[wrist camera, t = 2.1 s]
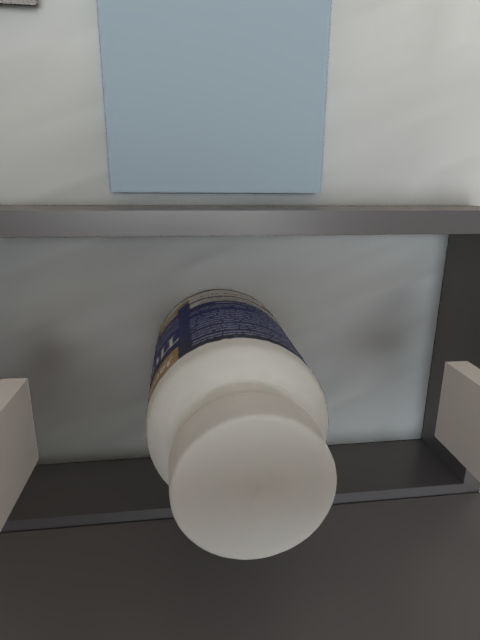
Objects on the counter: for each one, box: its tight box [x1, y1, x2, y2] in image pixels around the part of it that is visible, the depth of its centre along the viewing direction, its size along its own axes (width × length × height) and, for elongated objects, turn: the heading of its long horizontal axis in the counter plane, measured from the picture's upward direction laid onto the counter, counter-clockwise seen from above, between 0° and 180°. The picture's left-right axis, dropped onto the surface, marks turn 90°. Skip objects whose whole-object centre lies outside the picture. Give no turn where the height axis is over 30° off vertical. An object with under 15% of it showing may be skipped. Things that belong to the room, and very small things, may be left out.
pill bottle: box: [146, 290, 337, 560], centre depth 15 cm, size 5×5×10 cm
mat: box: [97, 0, 332, 193], centre depth 16 cm, size 8×8×1 cm
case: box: [0, 205, 480, 640], centre depth 13 cm, size 22×15×14 cm, turn 90°
